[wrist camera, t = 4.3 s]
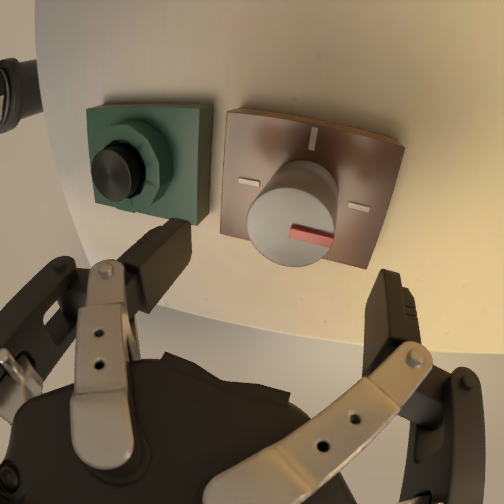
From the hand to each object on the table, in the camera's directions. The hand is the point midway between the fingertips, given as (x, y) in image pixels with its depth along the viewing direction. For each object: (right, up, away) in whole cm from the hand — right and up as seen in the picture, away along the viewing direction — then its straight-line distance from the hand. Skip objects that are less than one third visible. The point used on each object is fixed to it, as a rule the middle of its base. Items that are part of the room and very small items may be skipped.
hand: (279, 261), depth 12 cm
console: (-9, +9, +11) cm, 17 cm away
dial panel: (+3, +5, +8) cm, 10 cm away
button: (-11, +7, +8) cm, 15 cm away
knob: (+2, +4, +6) cm, 8 cm away
